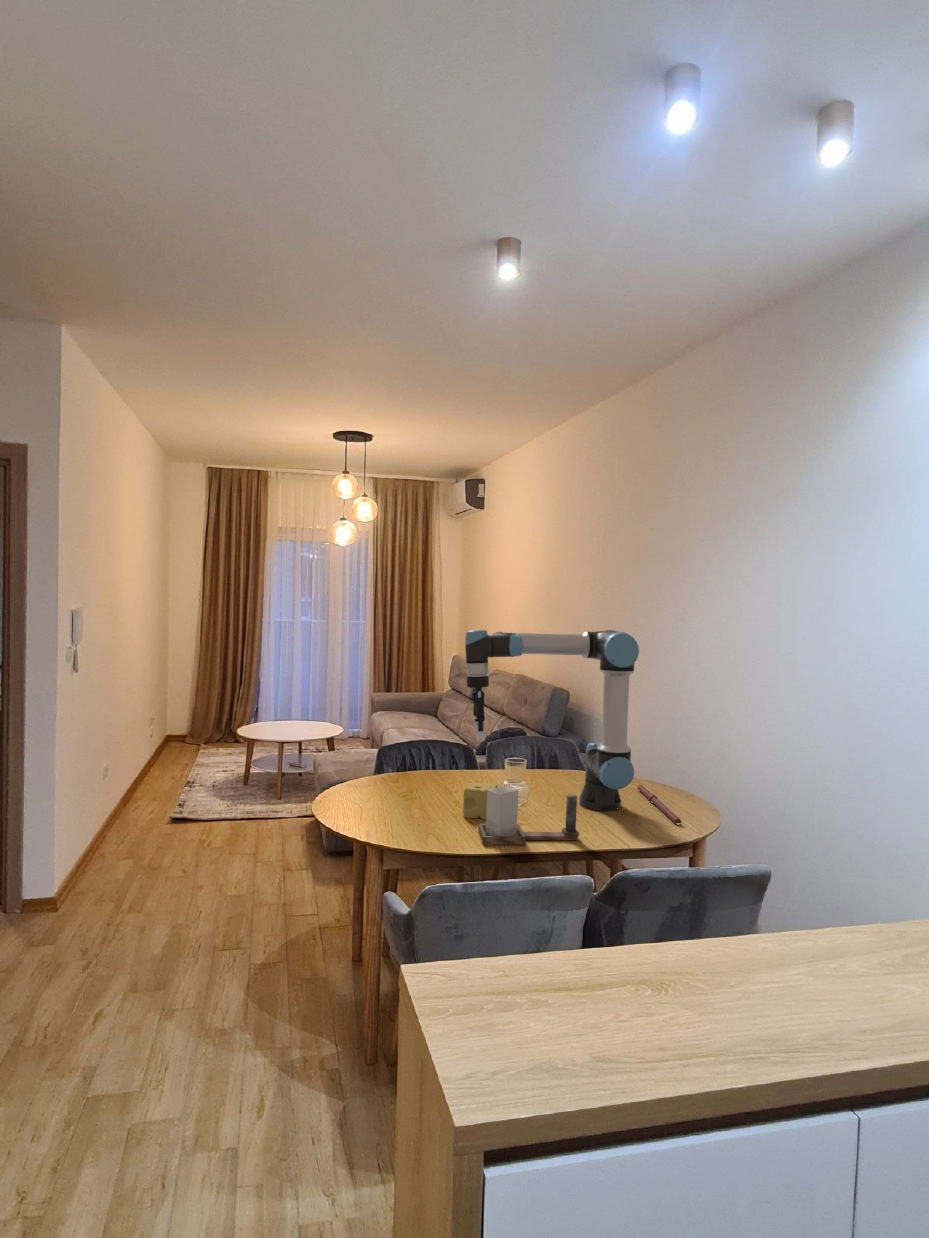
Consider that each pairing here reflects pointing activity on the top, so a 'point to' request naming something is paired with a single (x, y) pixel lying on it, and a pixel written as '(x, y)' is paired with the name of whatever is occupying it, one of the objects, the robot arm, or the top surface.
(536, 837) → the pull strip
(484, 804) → the cheese
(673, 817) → the reddish-brown rod
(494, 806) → the skincare box
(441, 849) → the top surface
